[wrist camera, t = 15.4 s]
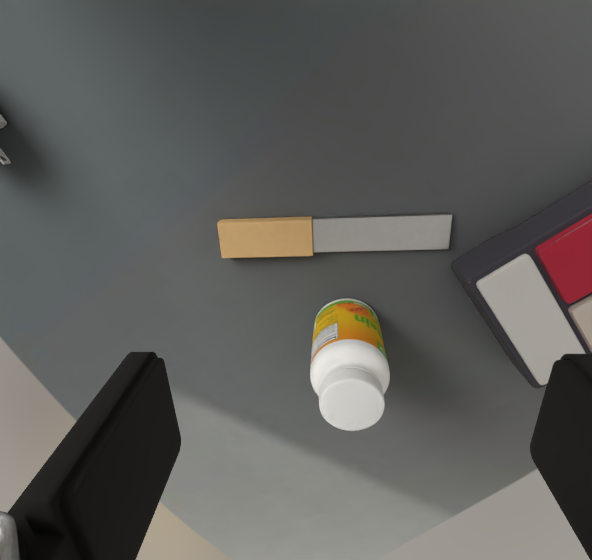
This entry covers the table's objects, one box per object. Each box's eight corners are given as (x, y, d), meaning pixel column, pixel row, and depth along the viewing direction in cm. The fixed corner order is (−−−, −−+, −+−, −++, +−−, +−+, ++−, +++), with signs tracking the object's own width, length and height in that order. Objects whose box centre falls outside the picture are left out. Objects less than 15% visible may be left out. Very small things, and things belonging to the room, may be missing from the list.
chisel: (224, 254, 31) (221, 258, 30) (220, 219, 30) (216, 222, 29) (447, 248, 29) (450, 252, 29) (450, 211, 28) (455, 215, 27)
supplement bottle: (392, 326, 33) (416, 409, 24) (344, 363, 34) (349, 452, 25) (348, 283, 31) (355, 354, 22) (300, 324, 33) (289, 403, 24)
